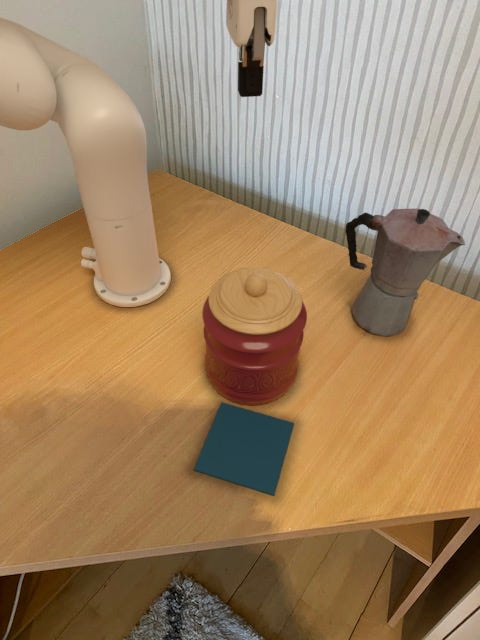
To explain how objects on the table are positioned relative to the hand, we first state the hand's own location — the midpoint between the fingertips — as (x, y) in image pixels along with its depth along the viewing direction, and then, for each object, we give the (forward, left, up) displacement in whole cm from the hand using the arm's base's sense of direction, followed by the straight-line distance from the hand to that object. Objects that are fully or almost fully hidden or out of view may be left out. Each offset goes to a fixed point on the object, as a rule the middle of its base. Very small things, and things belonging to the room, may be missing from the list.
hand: (249, 93), depth 67 cm
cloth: (+12, -38, -27) cm, 48 cm away
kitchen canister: (+9, -26, -27) cm, 39 cm away
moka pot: (+25, -10, -27) cm, 38 cm away
